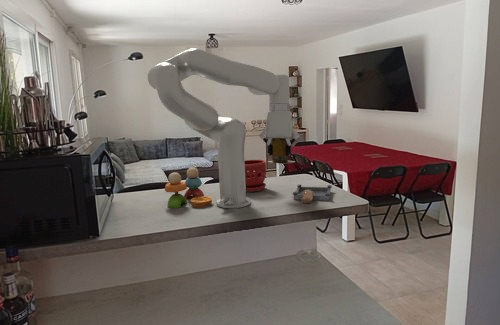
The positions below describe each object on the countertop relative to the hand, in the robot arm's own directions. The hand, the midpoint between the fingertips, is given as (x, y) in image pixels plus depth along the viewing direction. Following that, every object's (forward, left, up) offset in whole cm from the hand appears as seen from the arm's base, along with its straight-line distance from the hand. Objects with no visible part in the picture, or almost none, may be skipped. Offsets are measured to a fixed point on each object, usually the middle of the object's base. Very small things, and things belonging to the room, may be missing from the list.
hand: (279, 154), depth 148 cm
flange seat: (-1, -12, -16) cm, 20 cm away
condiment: (0, -1, -3) cm, 3 cm away
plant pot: (+8, +14, -16) cm, 23 cm away
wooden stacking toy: (-12, +32, -16) cm, 38 cm away
